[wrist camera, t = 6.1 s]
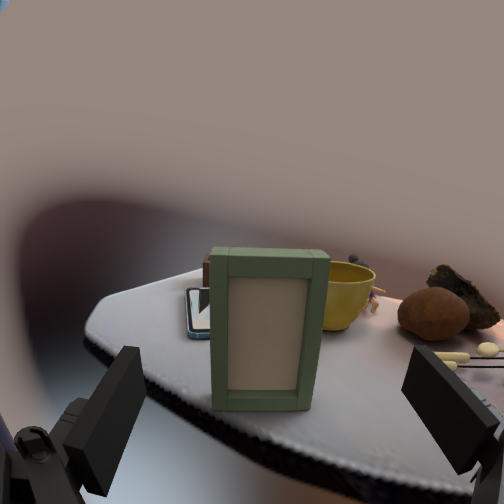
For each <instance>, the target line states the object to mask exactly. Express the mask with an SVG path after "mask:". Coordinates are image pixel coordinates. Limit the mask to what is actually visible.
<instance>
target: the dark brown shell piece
mask: <svg viewBox="0 0 504 504" xmlns="http://www.w3.org/2000/svg"><path fill="white" fill-rule="evenodd" d="M426 283H427V284H428V286H429V288H430V287H441V288H444V289H446V290H448V291H450V292H452V293H454V294H455V295H457V296H458V297H459V298H461V299H462V300H463V301H464V302H465V303H466V305H467V307H468V308H469V312H470V321H469V322H468V324H467V325H466V327H465V328H464V329H466V330H476V329H482V330H483V329H485V328H490V327H492V326H493V325H496V323H497V322H499V321H500V319H501V318H500V316H499V312H497V311H496V309H495V307H493V306H492V305H491V304H490V303H489V302H488V300H487V299H486V298H485V297H484V296H483V295H482V294H481V293H480V292H479V290H477V289H476V287H475V286H473V285H472V284H471V282H470V281H468V280H465V279H464V278H463V277H462V276H460V275H459V274H458V273H457V272H456V271H454V270H453V269H452V268H451V267H450V266H448V265H440V266H438V267H437V268H436V269H434V270H432V271H431V273H429V278H428V280H427V281H426Z"/></svg>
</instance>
